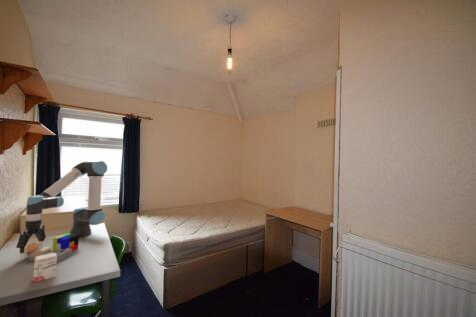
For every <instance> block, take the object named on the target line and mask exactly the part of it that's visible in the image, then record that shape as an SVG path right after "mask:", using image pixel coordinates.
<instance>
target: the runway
mask: <svg viewBox="0 0 476 317" xmlns="http://www.w3.org/2000/svg"><path fill="white" fill-rule="evenodd" d="M50 253H56V254H57V263H58V262H59V263H60V262H61V261H62V260H64V259H65V260H66V258H68V257H70V256H72V255H73V251H72V249H69V250H61V251H52V249H51V247H49V246H44V247H41V249H39V250H37V251H35V252H32V253H31V254H30V255H29V257H28V258H27V261H34V262H35V257H37V256H41V255H46V254H50Z"/></svg>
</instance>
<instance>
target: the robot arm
mask: <svg viewBox="0 0 476 317" xmlns="http://www.w3.org/2000/svg"><path fill="white" fill-rule="evenodd" d="M107 171H108V166H107V163H106V162H105V161H103V160H101V159H100V160H99V159H85V160H82V161H80V162H78V163H77V164H76V165H74V166H73V167H72V168H71V170H70V171H69V172H67V173H66V174H65V175H64V176H62V177H61V178H60V179H58V180H57V181H55V182H54V183H53V184H52V185H50V186H49V187H48V188H46V189H45V190H43V192H41V193H40V194H36V195H30V196H28V197H27V201H26V211H25V214H26V215H25V223H24V224H25V225H24V226H25V230H21V231H20V232H19V234H20V235H19V238H18V241H17V244H16V248H17V249H19V259H27V258H26V257H27V254H26V246H27V245H28V242H29V240H30V238H31V237H32V236H33V235H35V237H36V239H37V241H36V244H37V245H38V248H37V250H39V249H41V248H43V247H42V246H43V242H44V241H45V240H46V238H47V237H46V231H45V225H43V224H42V221H43V220H42V218H43V210H47V209H53V208H60V207H62V206H63V205H64V202H65V200H64V197H62V196H58V195H59V194H60V193H61V192H62V191H64V190H65V189H66V188H67V187H68V186H70V185H71V184H72V183H73V182H75V181H76V180H77V179H78V178H81V177H83V176H85V175H86V174H87V175H86V176H87V178H88V181H89V182H88V195H87V196H88V199H87V206H83V207H78V208H75V209H73V213H72V214H73V215H72V216H73V217H72V226H71V229H70V231H69V234H77V235H79V238H82V237H83V238H84V237H87V236H89V235H91V234H92V229H91V226H96V225H97V226H98V225H100V224H102V222H103V221H104V219H105V218H106V213H105V212H104V210H103V206H101V199H102V198H101V196H102V178H103V177H104V176H105V174H106V172H107ZM37 250H36V251H37Z"/></svg>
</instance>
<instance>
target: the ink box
mask: <svg viewBox="0 0 476 317" xmlns="http://www.w3.org/2000/svg"><path fill="white" fill-rule="evenodd" d="M57 263H58V261H57V254H56V253H50V254H46V255H41V256H37V257H35V261H34V265H33V276H32V278H33V279H32V281H33V283H38V282H42V281H44V280H48V279H51V278H54V277H55V278H56V274H57V273H56V272H57Z"/></svg>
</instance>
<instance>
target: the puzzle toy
mask: <svg viewBox="0 0 476 317" xmlns="http://www.w3.org/2000/svg"><path fill="white" fill-rule="evenodd" d="M69 233H70V232H69ZM69 233H65V234H61V235H58V236H55V237H53V240H52V249H51V251H61V250H69V249H72V252H73V251H75V250H78V249H79V240H80V237H79V235H77V234H69Z"/></svg>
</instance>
